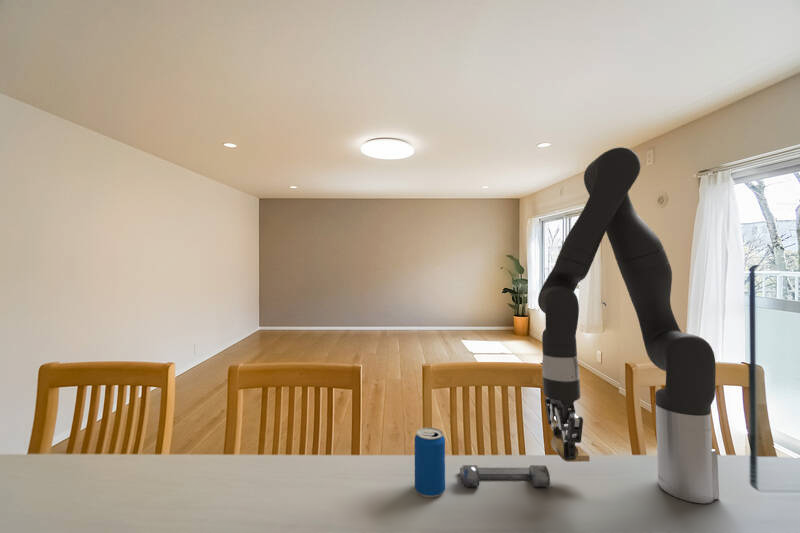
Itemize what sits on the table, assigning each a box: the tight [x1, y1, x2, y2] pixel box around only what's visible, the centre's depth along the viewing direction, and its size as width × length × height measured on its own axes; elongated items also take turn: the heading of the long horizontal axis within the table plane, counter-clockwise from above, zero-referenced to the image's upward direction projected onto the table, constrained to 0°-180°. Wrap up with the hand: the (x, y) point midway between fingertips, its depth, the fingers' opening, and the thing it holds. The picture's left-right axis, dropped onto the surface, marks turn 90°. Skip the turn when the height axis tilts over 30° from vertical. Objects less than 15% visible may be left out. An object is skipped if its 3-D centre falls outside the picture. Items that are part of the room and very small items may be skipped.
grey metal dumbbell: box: [459, 464, 551, 488], centre depth 78 cm, size 18×7×4 cm, turn 90°
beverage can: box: [414, 427, 446, 499], centre depth 75 cm, size 6×6×12 cm
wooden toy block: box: [550, 434, 590, 463], centre depth 78 cm, size 4×6×4 cm
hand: (564, 453), depth 78 cm, fingers closed on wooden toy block, 4 cm apart
